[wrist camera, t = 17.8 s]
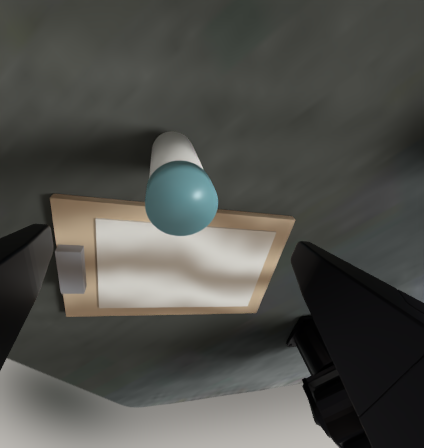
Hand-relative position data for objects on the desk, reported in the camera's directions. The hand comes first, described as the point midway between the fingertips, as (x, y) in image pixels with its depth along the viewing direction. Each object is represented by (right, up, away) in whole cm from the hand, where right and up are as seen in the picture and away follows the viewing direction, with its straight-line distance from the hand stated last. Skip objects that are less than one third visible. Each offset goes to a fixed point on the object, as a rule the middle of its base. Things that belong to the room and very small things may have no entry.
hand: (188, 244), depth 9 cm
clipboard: (-3, -4, +17) cm, 18 cm away
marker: (-2, +7, +11) cm, 13 cm away
